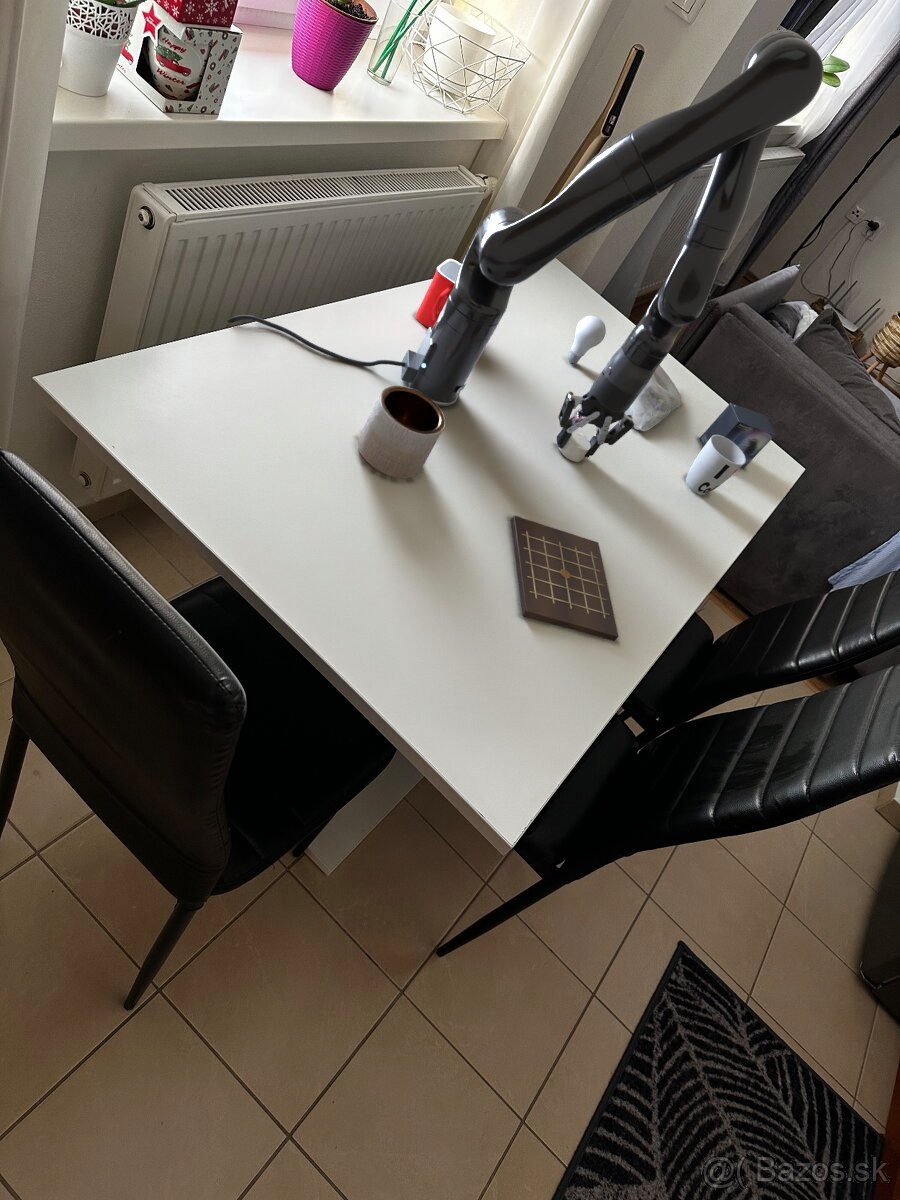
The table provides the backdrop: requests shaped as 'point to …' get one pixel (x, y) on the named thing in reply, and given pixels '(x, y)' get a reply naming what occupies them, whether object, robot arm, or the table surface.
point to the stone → (654, 401)
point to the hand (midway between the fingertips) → (572, 449)
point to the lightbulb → (586, 337)
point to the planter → (401, 431)
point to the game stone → (576, 447)
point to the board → (562, 579)
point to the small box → (742, 430)
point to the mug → (438, 292)
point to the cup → (714, 465)
